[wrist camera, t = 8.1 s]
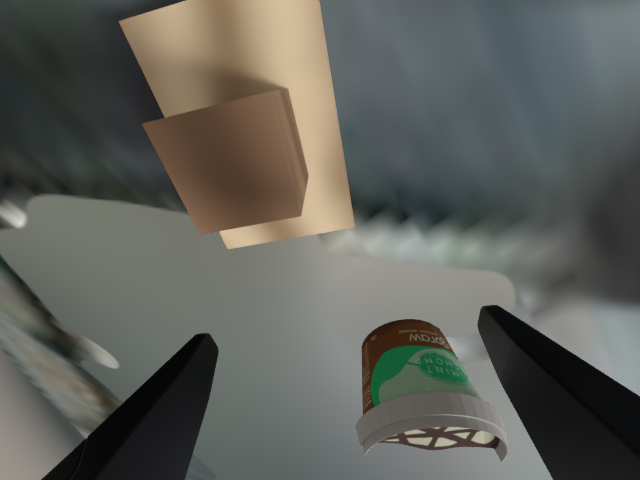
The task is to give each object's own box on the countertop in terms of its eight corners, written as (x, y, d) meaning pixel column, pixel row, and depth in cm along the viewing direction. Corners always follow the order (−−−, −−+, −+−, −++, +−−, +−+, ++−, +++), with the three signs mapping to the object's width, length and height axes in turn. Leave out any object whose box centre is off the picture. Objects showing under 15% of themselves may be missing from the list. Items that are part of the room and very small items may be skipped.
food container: (476, 314, 26) (548, 427, 18) (455, 351, 29) (509, 462, 21) (355, 307, 26) (370, 418, 17) (348, 346, 29) (357, 455, 21)
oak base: (314, -24, 13) (312, -39, 12) (352, 215, 20) (355, 227, 19) (143, 28, 14) (118, 21, 13) (235, 236, 22) (227, 249, 20)
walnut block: (288, 88, 14) (266, 92, 9) (308, 175, 17) (301, 216, 12) (205, 109, 15) (141, 123, 10) (237, 190, 17) (200, 234, 12)
